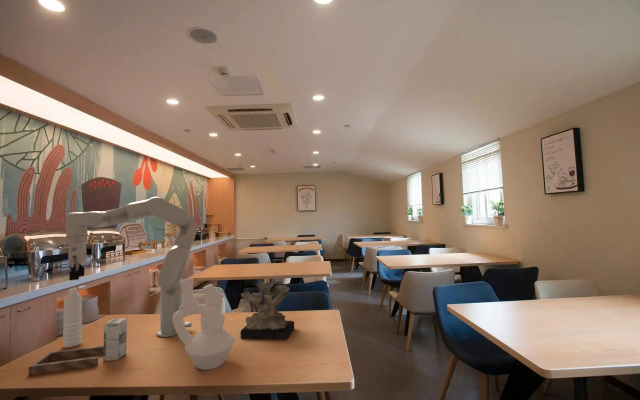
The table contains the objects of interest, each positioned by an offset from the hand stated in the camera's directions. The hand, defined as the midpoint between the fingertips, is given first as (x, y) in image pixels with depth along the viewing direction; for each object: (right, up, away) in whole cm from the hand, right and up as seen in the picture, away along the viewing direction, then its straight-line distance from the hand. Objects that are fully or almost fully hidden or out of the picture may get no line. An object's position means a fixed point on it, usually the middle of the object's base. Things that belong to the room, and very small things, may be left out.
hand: (77, 278), depth 134 cm
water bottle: (-2, -30, +1) cm, 30 cm away
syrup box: (+27, -28, -14) cm, 41 cm away
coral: (+84, -28, +9) cm, 89 cm away
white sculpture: (+66, -27, -22) cm, 74 cm away
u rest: (+13, -28, -17) cm, 36 cm away
